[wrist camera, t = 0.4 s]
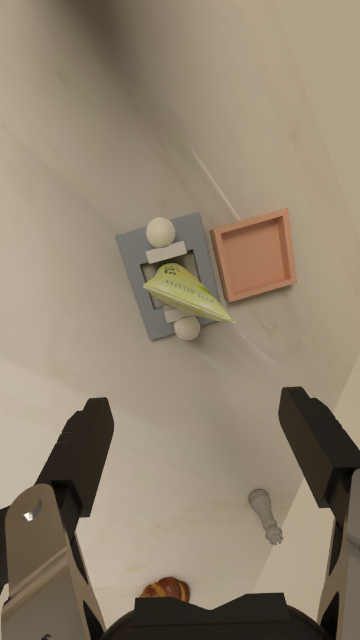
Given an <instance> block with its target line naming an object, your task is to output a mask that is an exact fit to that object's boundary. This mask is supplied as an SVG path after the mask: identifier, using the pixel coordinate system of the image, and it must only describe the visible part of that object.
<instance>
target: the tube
mask: <svg viewBox="0 0 360 640" xmlns="http://www.w3.org/2000/svg"><path fill="white" fill-rule="evenodd" d="M143 288H145V289H147V291H148V292H149V293H150V294H151V295H153V296H154V297H155V298H156V299H158V300H160V301H161V302H163V303H165V304H168V305H170V306H172V307H175V308H177V309H180V310H183V311H185V312H188V313H191V314H193V315H196V316H200V317H203V318H207V319H211V320H216V321H221V322H232V323H234V324H236V322H235V321H234V320H233V319H232V318H231V316H230V315H229V314H228V312H227V311H226V310H225V309H224V307H223V306H222V305H221V304H220V303H219V302H218V301H217V299H216V298H215V297H214V296H213V295H212V294H211V293H210V292H209V291H208V290H207V289H206V288H205V287H204V286H203V285H202V283H200V282H199V281H198V280H197V279H196V278H195V277H194V276H193V275H192V274H191V273H190V272H189V271H188V270H186V269H185V268H184V267H182V266H181V265H179V264H177V263H166V264H164V265H162V266H161V267H160V268H159V269H158V270H157V272H156V275H155V277H153V278H152V279H151V280H150V281H148V282H146V283H145V284H143Z"/></svg>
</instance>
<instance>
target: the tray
mask: <svg viewBox="0 0 360 640" xmlns="http://www.w3.org/2000/svg"><path fill="white" fill-rule="evenodd" d="M210 234H211V238H212V243H213V247H214V252H215V256H216V261H217V266H218V270H219V275H220V279H221V284H222V288H223V293H224V297H225V300H227V301H228V302H233V301H236V300H239V299H243V298H246V297H250V296H253V295H256V294H260V293H263V292H267V291H270V290H273V289H277V288H280V287H284V286H287V285H291V284H294V283H297V280H296V272H295V263H294V255H293V247H292V239H291V231H290V223H289V215H288V208H286V209H282V210H279V211H275V212H272V213H268V214H265V215H261V216H258V217H254V218H251V219H247V220H244V221H240V222H237V223H233V224H230V225H226V226H223V227H219V228H216V229H213V230H211V231H210Z"/></svg>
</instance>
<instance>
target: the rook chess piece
mask: <svg viewBox="0 0 360 640" xmlns="http://www.w3.org/2000/svg"><path fill="white" fill-rule="evenodd" d="M249 503H250V504H251V507H252V509H253V510H254V511H255V512H256V513H257V514H258V515H259V517H260V519H261V521H262V523H263V528H264V529H265V530H266V534H265V537H266V539H268V540H269V542H270V544H273V543H274V545H277V543H276V542H277V541H278V542H279V543H281V540H283V537H282V530H281V529H280V528H278V527H277V522H276V521H275V520H274V518H273V514H272V511H271V500H270V498H269V495H268V493H267V492H266V491H264V490H261V489H259V490H255V491H253V492H252V493H251V494H250V496H249ZM280 539H281V540H280Z"/></svg>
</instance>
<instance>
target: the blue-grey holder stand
mask: <svg viewBox="0 0 360 640" xmlns="http://www.w3.org/2000/svg"><path fill="white" fill-rule="evenodd" d="M115 238H116V241H117V244H118V246H119V249H120V252H121V255H122V258H123V261H124V264H125V267H126V270H127V273H128V276H129V279H130V282H131V285H132V288H133V291H134V294H135V297H136V300H137V303H138V306H139V309H140V312H141V315H142V318H143V321H144V324H145V327H146V330H147V333H148V336H149V339H150V341H151V340H154V339H158V338H161V337H164V336H168V335H171V334H175V333H176V335H177V336H178V337H179V338H180V339H182V340H185V341H189V340H193V339H194V338H196V337H197V336H198V334H199V332H200V326H202V325H205V324H209V323H212V322H215V321H216V320H211V319H207V318H203V317H200V316H196V315H193V314H191V313H188V312H185V311H183V310H180V309H177V308H175V307H172V306H170V305H164V306H161V307H158V308H154V307H153V304H152V301H151V297H150V294H149V292H148V291H147V289H145V288H143V284H145V283H146V282H145V279H144V275H143V272H142V269H141V266H140V264H143V263H146V262H149V264H151V263H155V262H158V261H162V260H165V259H169V258H172V257H176V256H179V255H183V254H186V253H187V252H186V251H188V250H192V252H193V256H194V260H195V264H196V268H197V272H198V276H199V280H200V283H202V285H203V286H204V287H205V288H206V289H207V290H208V291H209V292H210V293H211V294H212V295H213V296H214V297H215V298H216V299H217V301H218V302H219V298H218V293H217V289H216V284H215V280H214V276H213V271H212V267H211V263H210V258H209V254H208V249H207V245H206V241H205V236H204V232H203V228H202V223H201V219H200V214H199V212H198V213H194V214H191V215H187V216H184V217H180V218H177V219H173V220H170V221H169V220H168V219H166V218H163V217H158V218H155V219H153V220H151V221H150V223H149V224H148V226H147V227H145V228H142V229H138V230H135V231H131V232H128V233H124V234H121V235H117V236H115ZM219 303H220V302H219Z"/></svg>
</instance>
